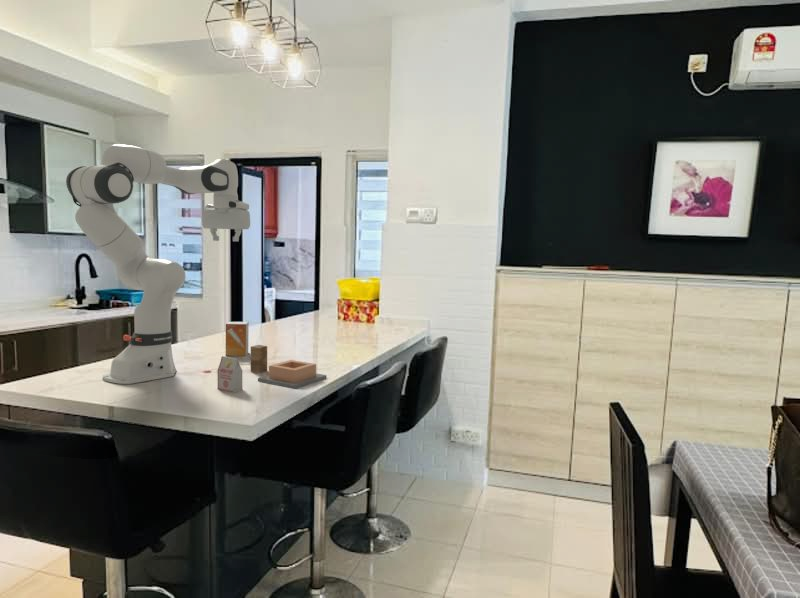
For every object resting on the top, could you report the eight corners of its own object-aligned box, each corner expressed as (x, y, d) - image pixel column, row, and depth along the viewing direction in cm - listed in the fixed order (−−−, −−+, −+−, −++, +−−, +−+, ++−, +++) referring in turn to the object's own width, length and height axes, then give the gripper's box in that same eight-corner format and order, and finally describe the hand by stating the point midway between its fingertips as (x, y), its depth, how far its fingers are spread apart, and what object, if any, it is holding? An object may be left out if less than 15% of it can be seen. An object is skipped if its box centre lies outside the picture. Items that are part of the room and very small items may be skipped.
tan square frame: (295, 388, 164) (296, 372, 163) (257, 381, 171) (257, 366, 171) (326, 378, 178) (326, 363, 177) (290, 371, 186) (290, 357, 185)
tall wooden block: (259, 373, 182) (259, 347, 181) (250, 371, 184) (250, 346, 183) (267, 371, 185) (267, 346, 184) (258, 369, 187) (258, 344, 186)
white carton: (226, 386, 164) (226, 355, 163) (242, 389, 161) (242, 358, 160) (217, 389, 161) (217, 357, 160) (233, 392, 158) (233, 360, 157)
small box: (225, 356, 208) (225, 323, 206) (228, 352, 214) (228, 321, 213) (246, 356, 209) (246, 323, 207) (248, 352, 215) (248, 321, 214)
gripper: (198, 203, 198) (198, 240, 200) (241, 203, 191) (241, 241, 192) (210, 205, 204) (210, 240, 205) (252, 205, 196) (252, 241, 198)
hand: (225, 241), depth 199 cm, fingers open, 8 cm apart
